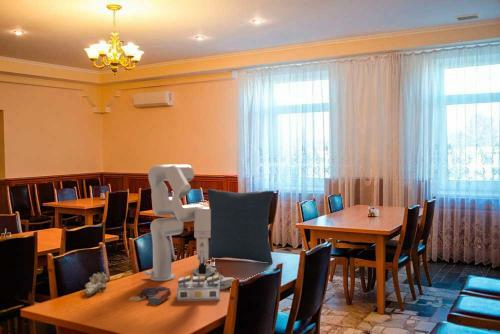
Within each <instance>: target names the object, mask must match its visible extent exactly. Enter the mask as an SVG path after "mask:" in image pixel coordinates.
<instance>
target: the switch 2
mask: <svg viewBox="0 0 500 334" xmlns="http://www.w3.org/2000/svg"><path fill="white" fill-rule="evenodd" d="M191 281H192V282H205V276H200V277H198V276H194V277H193V279H192V278H191Z"/></svg>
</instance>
